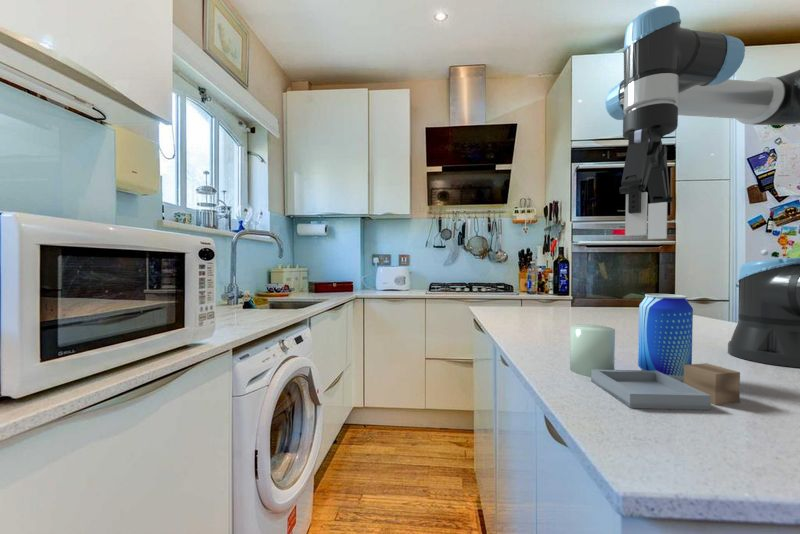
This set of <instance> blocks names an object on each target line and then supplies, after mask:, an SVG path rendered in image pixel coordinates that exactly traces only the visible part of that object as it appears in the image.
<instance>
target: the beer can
mask: <svg viewBox="0 0 800 534" xmlns="http://www.w3.org/2000/svg"><path fill="white" fill-rule="evenodd" d="M644 296H645V297H644V298H643V299H642V301H641V302H640V303H639V307H638V308H639V309H638V352H637V353H638V359H637V360H638V361H637V366H638V368H639V369H640V370H649V371H659V372H661V373H663V374H665V375H668V376H670V377H672V378H674V379H676V380H678V381H681V382H684V365H690V364H693V363H692V362H693V329H694V328H693V326H694V325H693V323H694V322H693V321H694V319H693V318H694V317H693V316H694V315H693V314H694V313H693V312H694V310H693V307H692V304H690V303H689V301H688V299H687V297H688V296H686V295H681V294H672V293H671V294H670V293H645V294H644Z"/></svg>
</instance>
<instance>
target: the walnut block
mask: <svg viewBox="0 0 800 534" xmlns="http://www.w3.org/2000/svg"><path fill="white" fill-rule="evenodd" d="M683 383H685V384H687V385H689V386H691V387H694V388H696V389H698V390H700V391H702V392H705V393H707V394H709V395H711V405H714V406H720V405H729V404H730V405H731V404H739V403H740V399H741V398H740V396H741V395H740V393H741V392H740V389H741V372H740V371H737V370H733V369H730V368H727V367H722V366H718V365H715V364H712V363H708V362H705V363H692V364H690V365H684V381H683Z"/></svg>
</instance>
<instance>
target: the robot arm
mask: <svg viewBox="0 0 800 534" xmlns="http://www.w3.org/2000/svg"><path fill="white" fill-rule="evenodd" d="M680 16H681V15H680V12H679V10H678V8H676V7H675V6H673V5H660V6H656V7H653V8H651V9H648V10H645V11H643V12H642V13H640V14H638V15H637V16H636V17H635V18H634V19H632V20H631V22H630V23H628V25H627V27H626V29H625V33H624V42H623V44H624V45H623V50H622V52H623V80H621V81H620V82H619V83H618V84H617V85H615V86H614V87H612V88H611V89H610V90H609V91H608V93H607V94H606V97H605V110H606V112H607V113H608V115H609V116H610V118H611V117H612V118H613V119H614V120H617V121H622V137H623V138H624V139H625V140H627V141H628V144H627V145H628V146H627V150H626V155H625V156H626V157H625V160H624V167H623V172H622V175H621V176H622V177H621V181H620V185H621V186H620V187H619V188H618V189H619V194H620V195H621V194H622V195H623V194H625V226H624V227H625V228H624V229H625V230H624V236H629V237H630V236H647V240H662V239H663V240H664V239H665V240H666V239H667V238H668V203H673V202H674V197H673V196H671V195H670V194H671V193H670V182H669V181H670V179H669V171H668V170H669V169H668V147H667V146H666V144H663V141H662V138H664V137H665V136H667V135H671V134H672V133H673V132H675V131H676V130H677V128H678V126H679V125H678V124H679V121H678V120H679V116H683V117H684V116H685V117H704V118H719V119H720V118H722V119H736V120H737V122H738V123H740V124H745V125H755V126H756V125H757V126H779V125H780V126H783V125H798V124H799V125H800V69H798V70H795V71H793V72H790V73H787V74H784V75H781V76H776V77H774V76H773V77H772V76H765V77H761V78H757V79H756V80H754V81H753V80H741V79H730V78H732V77H733V76H734V74H735V75H736V72H737V71H738V70H739V69H740V67H741V66H742V64H743V61H744V59H745V53H746V47H745V44H744V42H743V41H742V40H741V39H740V38H738V37H736V36H732V35H728V34H725V33H722V32H721V33H717V32H711V31H709V32H708V31H702V30H701V31H700V30H693V29H690V28H685V27H681V23H682V20H681V17H680ZM646 188H647V191H648V192H647V191H646ZM648 195H649V203H648ZM737 282H738V307H737V308H738V311H737V313H738V314H737V315H738V316H737V317H738V318H737V324H736V327H735V329H734V330H733V333H732V336H731V339H730V340H729V341H728V343H727V353H728V354H729V355H731V356H733V357H736V358H740V359H744V360H748V361H751V362H756V363H761V364H768V365H773V366H775V365H776V366H783V367H789V368H790V367H792V368H800V256H799V257H786V258H785V257H784V258H770V259H769V258H768V259H762V260H761V259H760V260H752V261H748V262H745V263H743V264H742V265H741V266H740V268H739V276H738V278H737Z"/></svg>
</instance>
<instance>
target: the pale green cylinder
mask: <svg viewBox="0 0 800 534" xmlns="http://www.w3.org/2000/svg"><path fill="white" fill-rule="evenodd" d="M569 333H570V334H569V337H570V339H569V340H570V341H569V342H570V343H569V344H570V345H569V350H570V351H569V370H570V371H571V373H572V372H573V373H574V374H576V375H581V376H583V377H584V376H585V377H589V378H591V369H593V370H615V365H616V364H615V363H616V362H615V360H616V359H615V358H616V357H615V354H616V353H615V351H616V349H615V348H616V344H615V343H616V329H615V328H614V327H610V326H604V325H598V324H583V323H581V324H571V325H570V332H569Z"/></svg>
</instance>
